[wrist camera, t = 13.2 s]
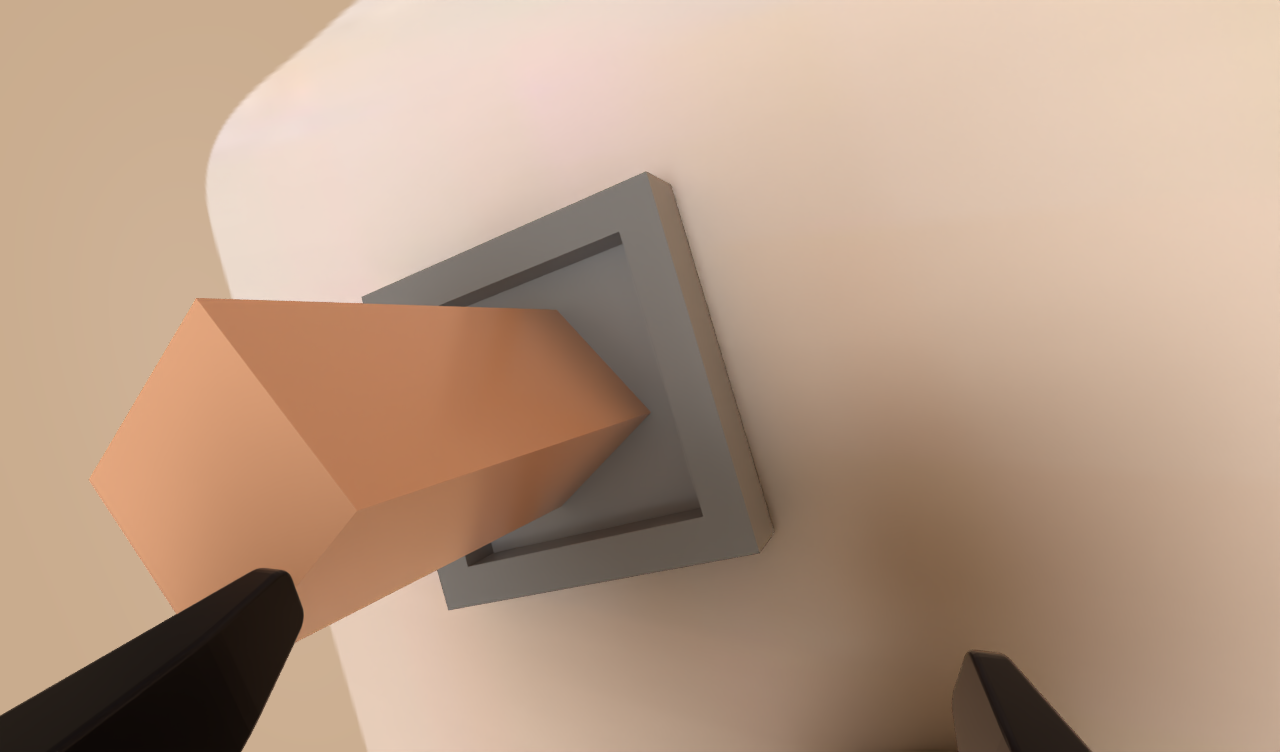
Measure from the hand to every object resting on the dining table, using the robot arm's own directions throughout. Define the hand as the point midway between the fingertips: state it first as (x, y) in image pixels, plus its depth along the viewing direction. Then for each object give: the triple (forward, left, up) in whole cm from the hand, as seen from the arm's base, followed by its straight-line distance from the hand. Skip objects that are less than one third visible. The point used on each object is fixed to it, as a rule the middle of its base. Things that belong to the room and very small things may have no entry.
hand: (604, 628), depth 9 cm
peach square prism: (+3, +7, -13) cm, 16 cm away
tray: (+3, +7, -14) cm, 16 cm away
